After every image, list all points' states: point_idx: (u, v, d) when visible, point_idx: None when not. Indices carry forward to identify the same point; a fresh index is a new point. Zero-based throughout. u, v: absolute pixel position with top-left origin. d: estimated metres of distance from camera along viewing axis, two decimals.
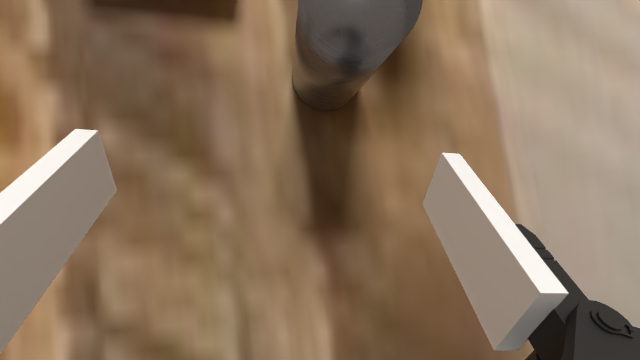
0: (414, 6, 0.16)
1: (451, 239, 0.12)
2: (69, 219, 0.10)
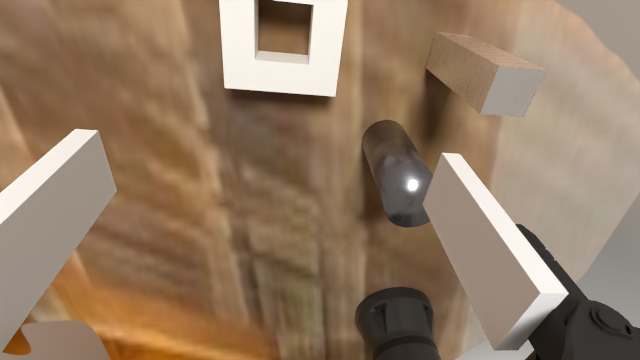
0: None
1: (451, 239, 0.12)
2: (69, 219, 0.10)
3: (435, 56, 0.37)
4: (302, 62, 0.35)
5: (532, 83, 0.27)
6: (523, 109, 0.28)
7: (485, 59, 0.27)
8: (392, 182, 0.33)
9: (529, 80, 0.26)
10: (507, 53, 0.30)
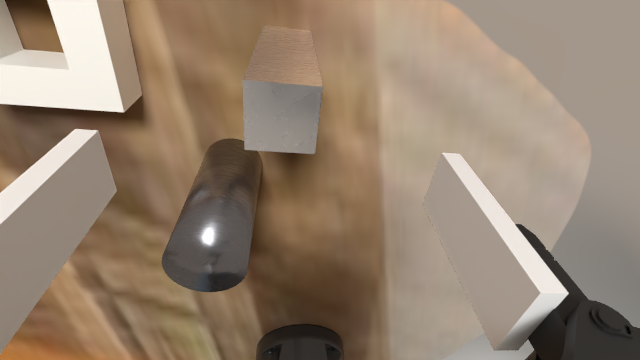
0: (242, 271, 0.24)
1: (451, 239, 0.12)
2: (69, 219, 0.10)
3: None
4: (65, 66, 0.25)
5: (308, 105, 0.17)
6: (309, 143, 0.19)
7: (247, 68, 0.18)
8: (172, 235, 0.24)
9: (301, 101, 0.17)
10: (313, 57, 0.21)
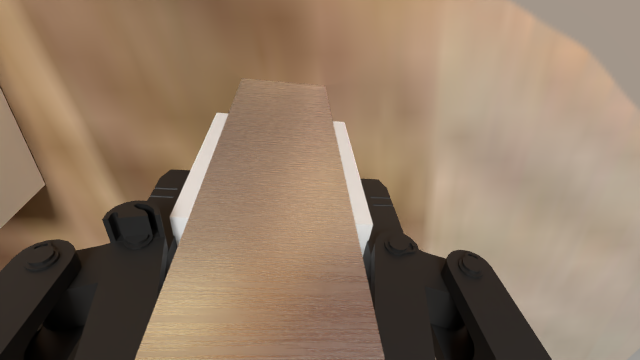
0: None
1: None
2: None
3: None
4: None
5: None
6: None
7: (161, 293, 0.06)
8: None
9: None
10: (340, 194, 0.09)
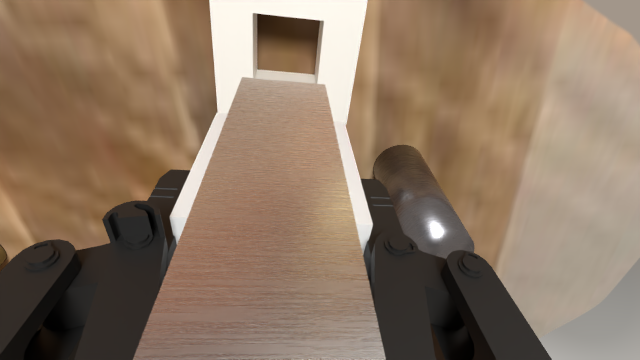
0: None
1: None
2: None
3: None
4: None
5: None
6: None
7: (160, 291, 0.06)
8: (413, 229, 0.28)
9: None
10: (341, 192, 0.09)
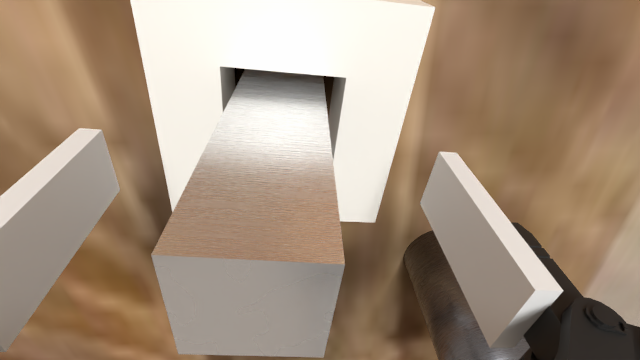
0: None
1: (448, 238, 0.12)
2: (73, 218, 0.10)
3: None
4: None
5: (310, 294, 0.08)
6: (312, 344, 0.09)
7: (184, 192, 0.08)
8: None
9: (295, 287, 0.07)
10: (324, 141, 0.11)
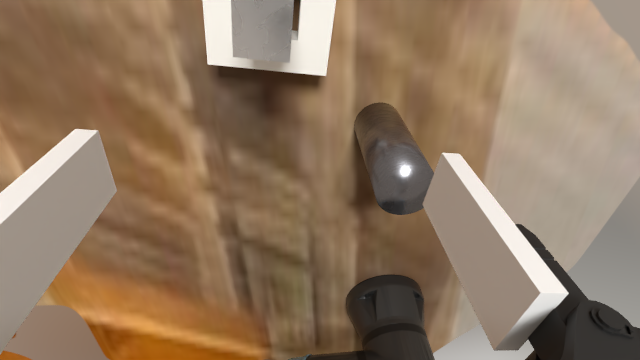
0: None
1: (451, 239, 0.12)
2: (69, 219, 0.10)
3: None
4: (291, 38, 0.33)
5: (283, 17, 0.22)
6: (285, 52, 0.23)
7: None
8: (384, 167, 0.31)
9: (277, 13, 0.22)
10: None
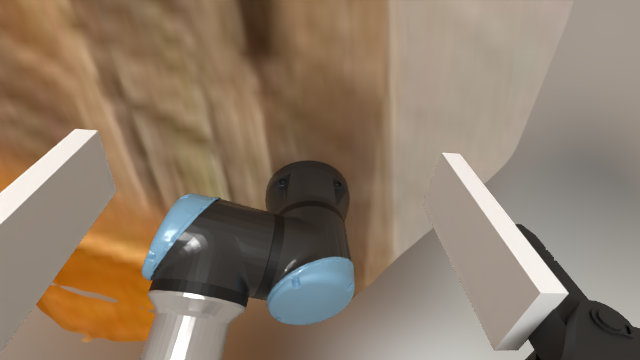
0: None
1: (451, 239, 0.12)
2: (69, 219, 0.10)
3: None
4: None
5: None
6: None
7: None
8: None
9: None
10: None
